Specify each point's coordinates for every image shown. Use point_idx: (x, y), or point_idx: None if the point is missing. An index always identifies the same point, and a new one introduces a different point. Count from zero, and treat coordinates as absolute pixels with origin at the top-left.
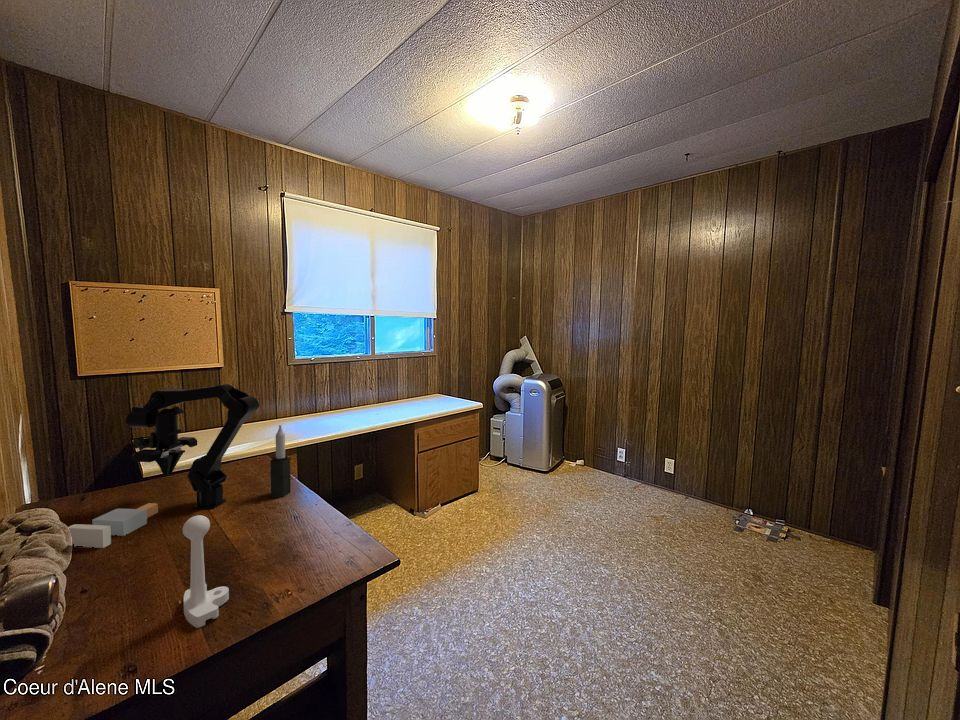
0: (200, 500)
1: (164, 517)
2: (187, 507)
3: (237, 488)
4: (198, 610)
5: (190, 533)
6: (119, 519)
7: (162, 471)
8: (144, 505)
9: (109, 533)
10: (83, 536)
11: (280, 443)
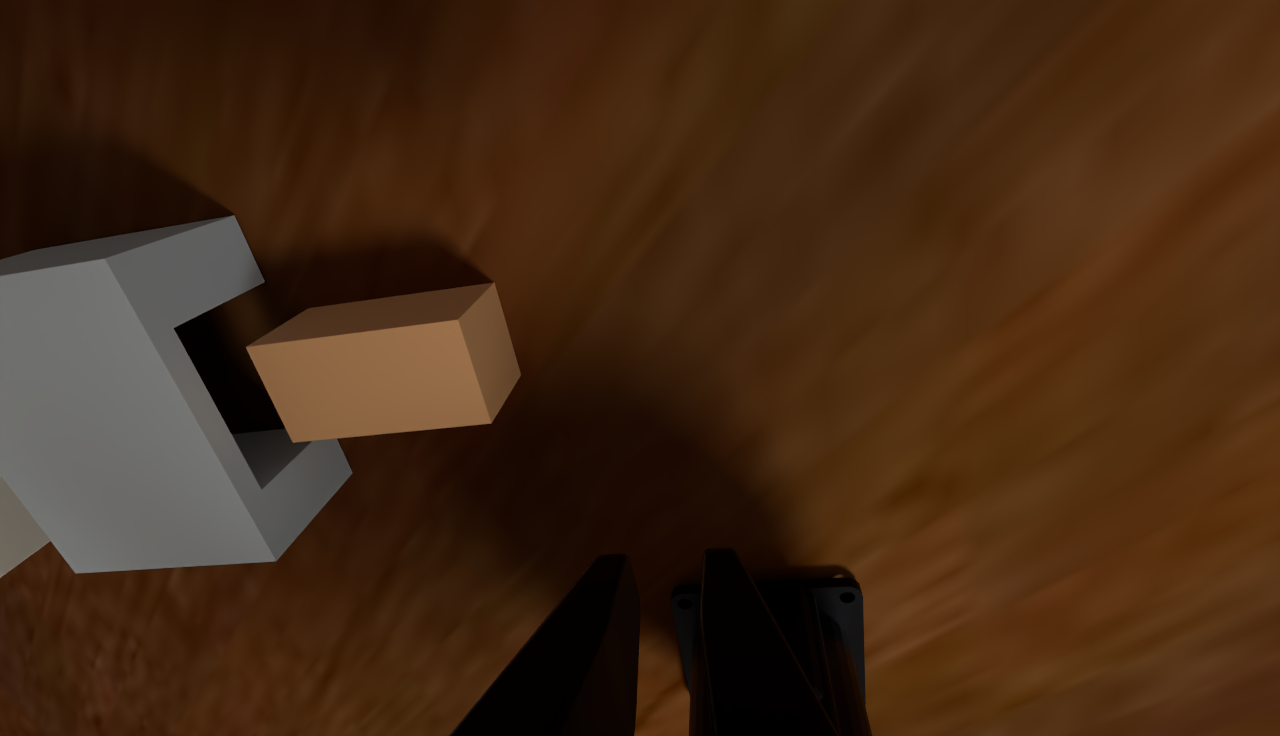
0: (695, 676)
1: (475, 504)
2: (678, 525)
3: (1176, 625)
4: None
5: None
6: (60, 521)
7: (545, 639)
8: (402, 332)
9: (11, 563)
10: None
11: None
